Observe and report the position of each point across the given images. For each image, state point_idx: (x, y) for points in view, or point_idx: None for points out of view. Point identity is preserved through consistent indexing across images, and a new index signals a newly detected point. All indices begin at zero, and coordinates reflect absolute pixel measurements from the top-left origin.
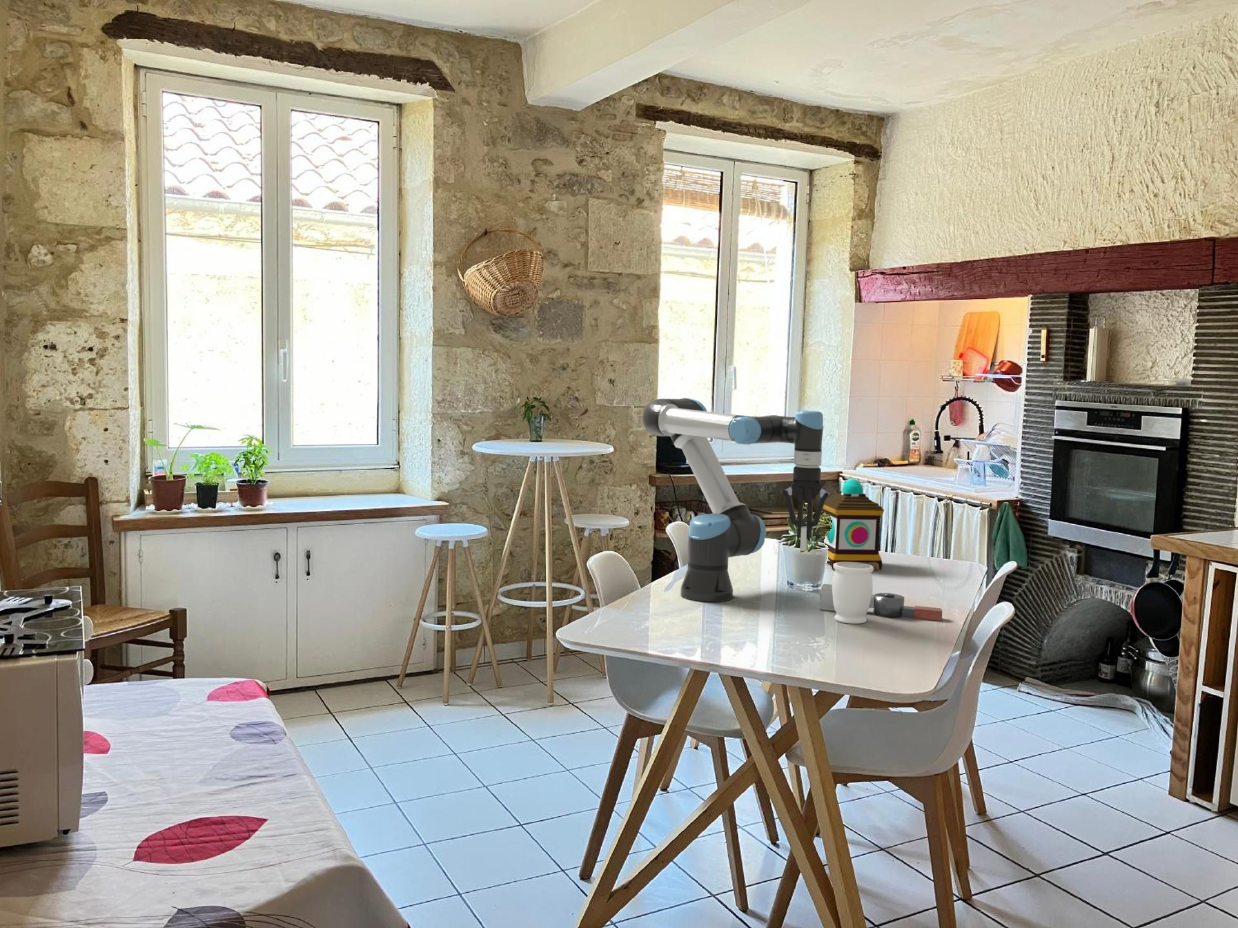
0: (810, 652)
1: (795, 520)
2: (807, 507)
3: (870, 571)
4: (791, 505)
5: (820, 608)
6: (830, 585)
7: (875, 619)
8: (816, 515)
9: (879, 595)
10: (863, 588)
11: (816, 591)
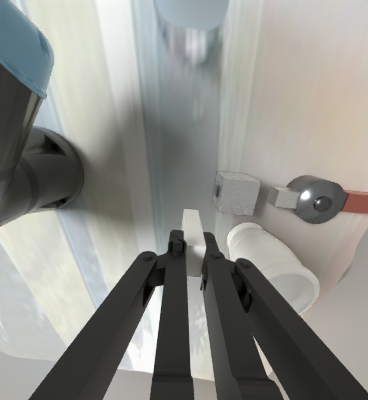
0: (196, 338)
1: (155, 285)
2: (214, 375)
3: (304, 305)
4: (109, 378)
5: (212, 200)
6: (235, 187)
7: (277, 225)
8: (253, 327)
9: (307, 202)
10: (276, 289)
11: (213, 60)
